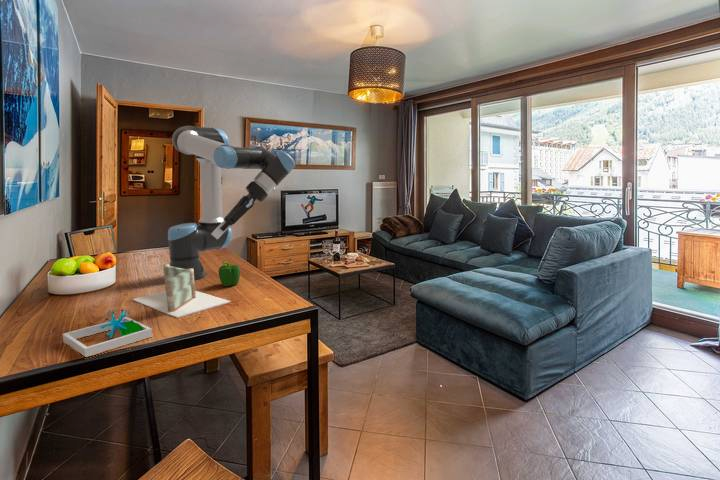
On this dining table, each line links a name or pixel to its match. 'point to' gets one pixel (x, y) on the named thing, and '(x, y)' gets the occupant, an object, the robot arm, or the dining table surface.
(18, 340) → the dining table surface
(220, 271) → the bell pepper
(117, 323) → the stick construction toy
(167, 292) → the folding fence panel
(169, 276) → the fixed fence section
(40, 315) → the dining table surface
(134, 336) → the grey storage tray
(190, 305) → the card
